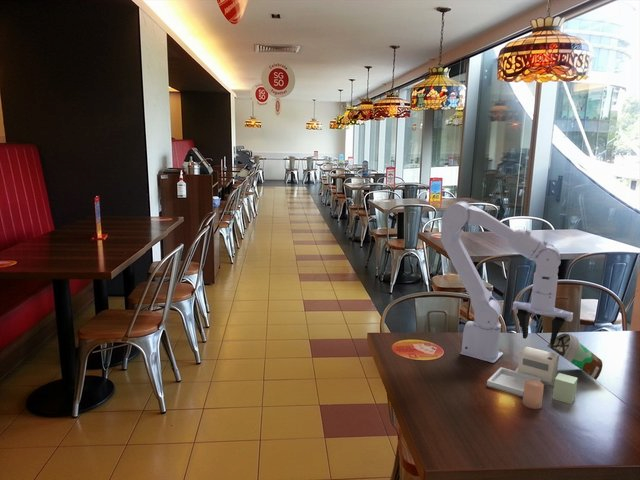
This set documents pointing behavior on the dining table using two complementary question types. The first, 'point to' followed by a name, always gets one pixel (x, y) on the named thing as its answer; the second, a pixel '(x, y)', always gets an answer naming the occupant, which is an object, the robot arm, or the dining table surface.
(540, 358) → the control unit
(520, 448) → the dining table surface
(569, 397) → the green part
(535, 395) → the terracotta part
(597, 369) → the food container
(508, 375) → the tray
